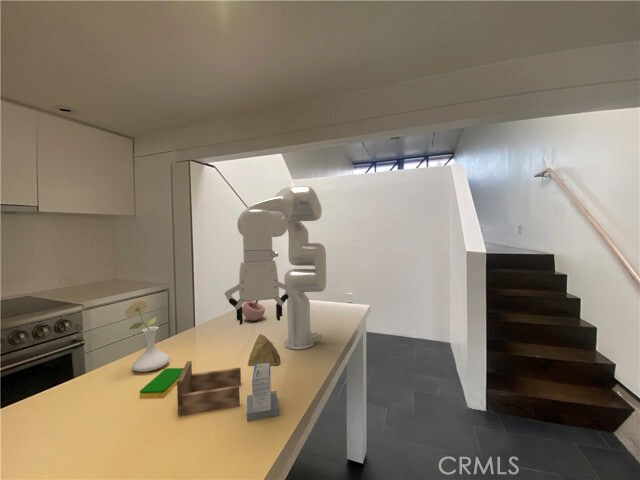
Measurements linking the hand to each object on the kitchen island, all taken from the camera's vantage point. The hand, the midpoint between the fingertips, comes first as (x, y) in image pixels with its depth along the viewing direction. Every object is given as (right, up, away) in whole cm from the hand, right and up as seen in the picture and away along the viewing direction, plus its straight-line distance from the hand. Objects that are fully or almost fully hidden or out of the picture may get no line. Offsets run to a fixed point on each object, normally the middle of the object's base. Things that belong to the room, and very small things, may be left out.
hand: (260, 321), depth 73 cm
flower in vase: (-45, -24, +24) cm, 56 cm away
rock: (-4, -23, +26) cm, 35 cm away
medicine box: (+1, -22, -1) cm, 22 cm away
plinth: (+1, -23, 0) cm, 23 cm away
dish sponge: (-33, -24, +13) cm, 43 cm away
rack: (-15, -24, +5) cm, 28 cm away
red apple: (-20, -23, +77) cm, 83 cm away
